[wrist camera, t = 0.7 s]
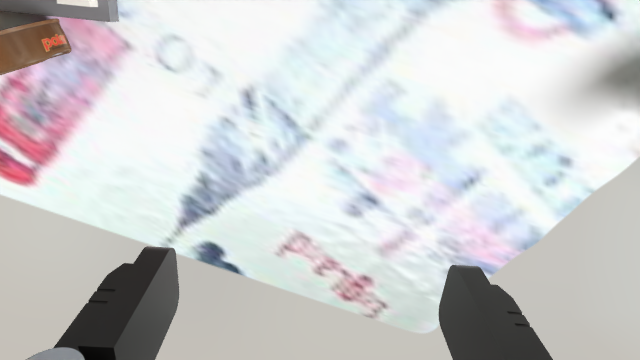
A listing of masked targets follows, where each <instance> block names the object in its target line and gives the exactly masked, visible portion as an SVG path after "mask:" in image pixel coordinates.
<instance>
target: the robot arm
mask: <svg viewBox="0 0 640 360" xmlns="http://www.w3.org/2000/svg"><path fill="white" fill-rule="evenodd" d="M178 300H179V284H178V274H177V261H176V252H175V249H174V248H164V247H145V248H144V249H143V250H142V252H141V253H140V255H139V256H138V258H137V259H136V261H135V262H134V264H128V263H124V264H122V265H121V266H119V267H118V268H117V269H115V270H114V271H112V272H111V273H109V274H108V275H107V276H106V278H105V279H104V280H103V282H102V283H101V284H100V286H99V287H98V289H97V292H94V294H93V295H92V296H91V298H90V299H89V302H88V303H87V304H86V305H85V306H84V307H83V309H82V310H81V311H80V313H79V314H78V315H77V317H76V318H75V319H74V321H73V322H72V323H71V325H70V326H69V328H68V329H67V330H66V332H65V333H64V334H63V336H62V337H61V339H60V340H59V341H58V342H57V344H56V345H55V346H54V348H53V349H48V350H46V351H43V352H40V353H38V354H35V355H33V356H32V357H30V358H28V359H26V360H155V358H156V356H157V354H158V351H159V349H160V347H161V345H162V342H163V340H164V337H165V335H166V333H167V331H168V329H169V326H170V324H171V322H172V319H173V317H174V315H175V313H176V310H177V306H178ZM439 322H440V326H441V329H442V332H443V335H444V337H445V340H446V342H447V345H448V348H449V350H450V353H451V356H452V358H453V360H553V359H552V358H551V356H550V355H549V353H548V351H547V350H546V348H545V347H544V345H543V344H542V342H541V341H540V339H539V338H538V336H537V335H536V333H535V332H534V330H533V328H531V327H530V324H529V322H528V321H527V319H526V318H525V316H524V315H522V312H521V310H520V309H519V307H518V306H517V304H516V302H515V301H514V299H513V298H512V297H511V296H510V295H509V294H507V293H506V292H505V291H504V290H503V289H501V288H500V287H499V286H498V285H491V284H490V282H489V281H488V279H487V278H486V276H485V274H484V273H483V271H482V269H481V268H480V267H478V266H462V265H452V266H451V267H450V269H449V271H448V275H447V279H446V282H445V286H444V290H443V294H442V298H441V301H440V305H439Z"/></svg>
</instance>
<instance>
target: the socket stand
mask: <svg viewBox="0 0 640 360" xmlns="http://www.w3.org/2000/svg"><path fill="white" fill-rule="evenodd" d="M0 11H8V12H18V13H28V14H38V15H47V16H57V17H67V18H77V19H86V20H96V21H106V22H116V21H119V20H118V9H117V0H0Z"/></svg>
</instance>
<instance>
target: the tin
mask: <svg viewBox="0 0 640 360" xmlns="http://www.w3.org/2000/svg"><path fill="white" fill-rule="evenodd" d="M70 52H71V46H70V44H69V42H68V40H67V38H66V36H65V34H64V32H63V30H62V28H61V26H60V24H59V19H49V20H44V21H38V22H34V23H30V24H25V25H20V26H17V27H12V28H8V29H4V30H0V75H2V74H5V73H9V72H12V71H15V70H19V69H22V68H25V67H28V66H31V65H34V64H37V63H40V62H43V61H45V60H47V59H49V58H52V57H56V56H59V55H63V54H67V53H70Z"/></svg>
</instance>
